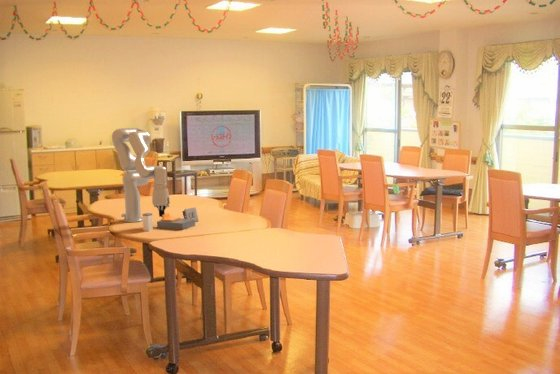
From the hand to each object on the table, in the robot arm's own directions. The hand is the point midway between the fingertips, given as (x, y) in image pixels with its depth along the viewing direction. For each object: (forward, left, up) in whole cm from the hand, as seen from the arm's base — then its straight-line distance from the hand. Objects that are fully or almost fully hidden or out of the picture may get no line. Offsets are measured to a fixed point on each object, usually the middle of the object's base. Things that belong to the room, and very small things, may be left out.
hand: (161, 216), depth 375 cm
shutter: (+6, 0, -2) cm, 6 cm away
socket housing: (+10, 0, -6) cm, 12 cm away
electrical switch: (+10, +16, -6) cm, 20 cm away
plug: (0, -15, -6) cm, 16 cm away
